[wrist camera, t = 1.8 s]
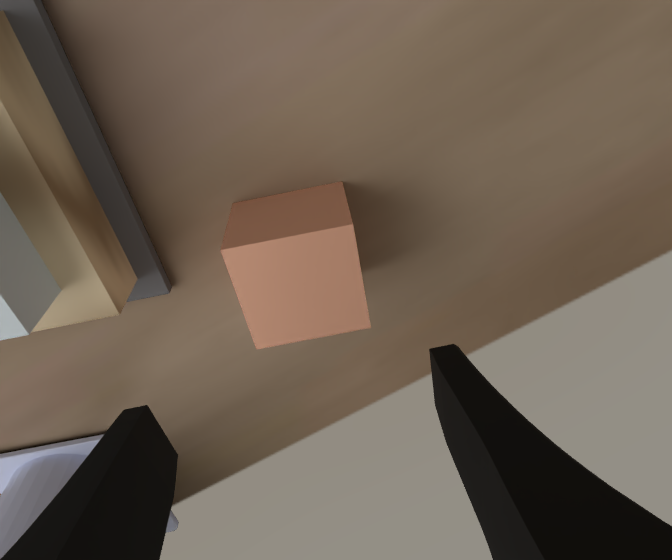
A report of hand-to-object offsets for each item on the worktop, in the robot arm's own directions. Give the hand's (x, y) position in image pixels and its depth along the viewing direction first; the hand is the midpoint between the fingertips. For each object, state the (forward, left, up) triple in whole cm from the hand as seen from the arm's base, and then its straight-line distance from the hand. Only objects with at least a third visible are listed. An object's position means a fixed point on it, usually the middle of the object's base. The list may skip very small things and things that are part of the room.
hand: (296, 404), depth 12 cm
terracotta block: (0, 0, -10) cm, 10 cm away
